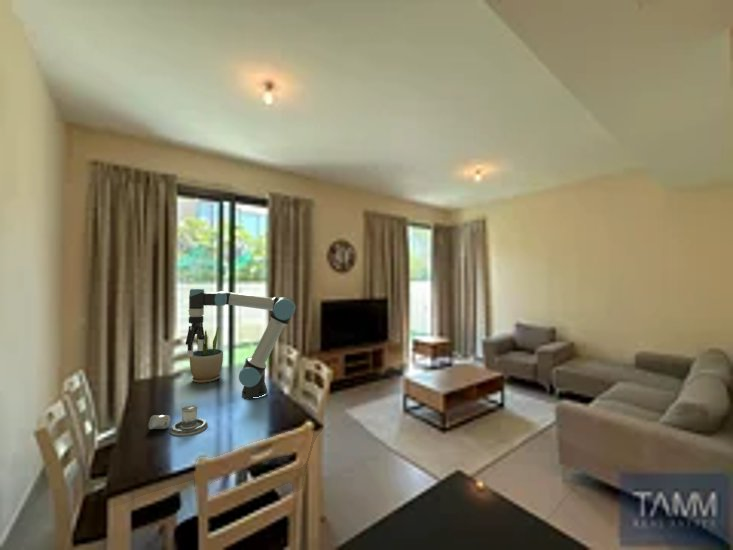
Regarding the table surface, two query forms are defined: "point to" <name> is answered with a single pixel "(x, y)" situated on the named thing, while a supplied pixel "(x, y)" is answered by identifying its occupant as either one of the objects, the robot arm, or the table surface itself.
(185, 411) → the knob
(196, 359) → the potted plant
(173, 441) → the table surface
